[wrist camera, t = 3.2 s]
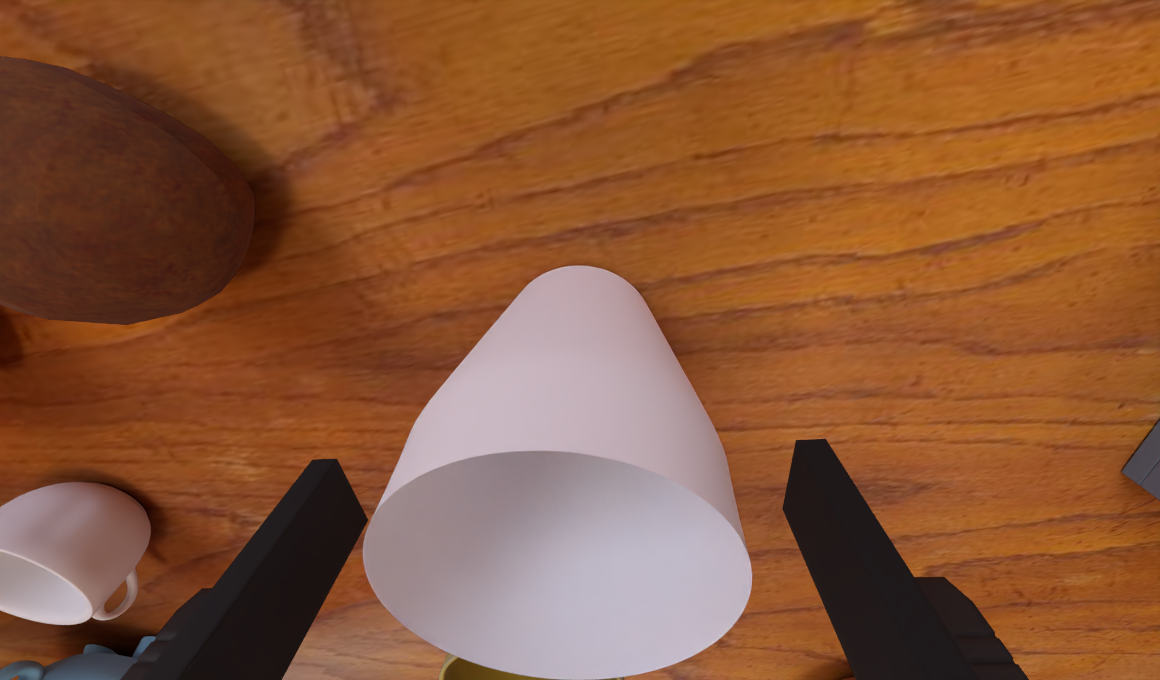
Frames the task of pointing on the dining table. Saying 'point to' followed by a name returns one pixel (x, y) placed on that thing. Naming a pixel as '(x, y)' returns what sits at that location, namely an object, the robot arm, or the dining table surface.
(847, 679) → the egg
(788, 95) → the dining table surface
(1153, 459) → the chest
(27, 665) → the teapot
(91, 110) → the potato
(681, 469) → the cup
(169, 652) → the robot arm
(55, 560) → the teacup
